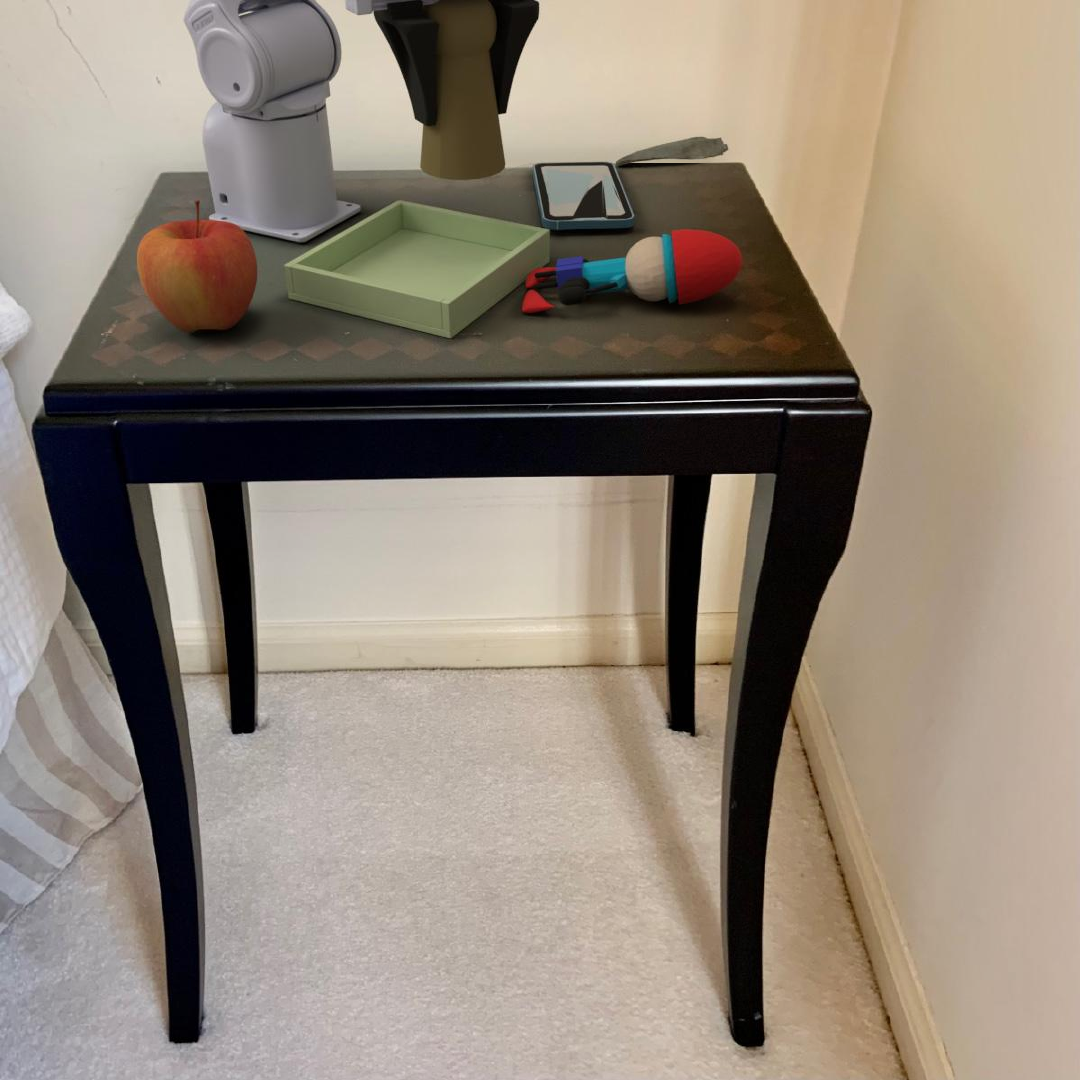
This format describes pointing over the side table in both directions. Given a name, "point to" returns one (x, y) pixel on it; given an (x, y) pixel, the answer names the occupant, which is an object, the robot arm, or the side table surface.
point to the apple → (198, 272)
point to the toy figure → (645, 271)
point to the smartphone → (581, 196)
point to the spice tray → (419, 267)
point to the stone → (679, 150)
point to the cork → (463, 94)
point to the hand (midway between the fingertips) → (460, 116)
